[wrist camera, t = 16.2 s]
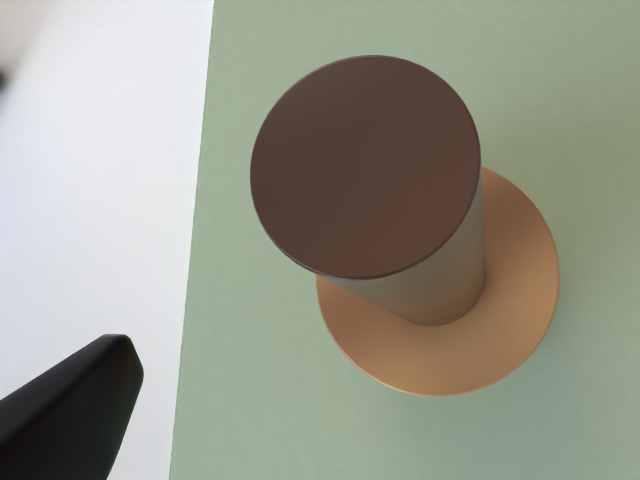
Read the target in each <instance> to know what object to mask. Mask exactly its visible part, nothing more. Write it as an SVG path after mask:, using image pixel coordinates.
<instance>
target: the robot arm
mask: <svg viewBox="0 0 640 480" xmlns="http://www.w3.org/2000/svg"><path fill="white" fill-rule="evenodd" d="M143 377H144V372H143V367H142V364H141V362H140V360H139V357H138V355H137V352H136V350H135V348H134V345H133V343H132V341H131V339H130V338H129V337H128V336H126V335H121V334H105V335H102V336H101V337H99V338H97V339H96V340H94V341H93V342H91V343H90V344H88V345H86V346H85V347H83V348H82V349H80V350H79V351H77V352H76V353H74V354H72V355H71V356H69V357H68V358H66V359H65V360H63V361H61V362H60V363H58V364H57V365H55V366H54V367H52V368H50V369H49V370H47V371H46V372H44V373H43V374H41V375H39V376H38V377H36V378H35V379H33V380H32V381H30V382H28V383H27V384H25V385H24V386H22V387H21V388H19V389H17V390H16V391H14V392H13V393H11V394H10V395H8V396H7V397H5V398H3V399H2V400H0V480H107V478H108V475H109V473H110V471H111V469H112V466H113V464H114V462H115V459H116V456H117V454H118V451H119V449H120V446H121V443H122V440H123V437H124V434H125V432H126V429H127V426H128V423H129V420H130V417H131V414H132V411H133V409H134V406H135V403H136V400H137V397H138V394H139V391H140V388H141V386H142V382H143Z"/></svg>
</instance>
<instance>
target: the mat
mask: <svg viewBox="0 0 640 480" xmlns="http://www.w3.org/2000/svg"><path fill="white" fill-rule="evenodd" d="M362 55H384V56H392V57H397V58H401V59H405V60H409V61H411V62H414V63H416V64H419V65H421V66H424V67H425V68H427V69H429V70H431V71H432V72H434V73H436V74H437V75H438V76H440V77H441V78H442V79H444V80H445V81H446V82H447V83H448V84H449V85H450V86H451V87H452V88H453V89H454V90H455V91H456V92H457V93H458V95H459V96H460V97H461V99H462V100H463V101H464V103H465V104H466V106H467V108H468V110H469V112H470V113H471V115H472V117H473V120H474V123H475V126H476V128H477V131H478V136H479V141H480V146H481V163H482V166H483V167H485V168H487V169H490V170H492V171H494V172H496V173H498V174H499V175H501V176H503V177H504V178H506V179H508V180H509V181H510V182H512V183H513V184H514V185H515V186H517V187H518V188H519V189H520V190H522V191H523V192H524V194H525V195H526V196H527V197H528V198H529V199H530V200H531V201H532V202H533V203H534V205H535V206H536V207H537V209H538V210H539V212H540V213H541V214H542V216H543V218H544V220H545V221H546V223H547V225H548V227H549V229H550V231H551V234H552V237H553V240H554V242H555V245H556V250H557V254H558V259H559V269H560V287H559V296H558V301H557V306H556V310H555V313H554V316H553V318H552V321H551V324H550V326H549V328H548V330H547V332H546V334H545V336H544V338H543V340H542V341H541V342H540V344H539V345H538V347H537V348H536V349H535V351H534V352H533V353H532V355H531V356H530V357H529V358H528V359H527V360H526V361H525V362H524V363H523V364H522V365H521V366H520V367H519V368H517V369H516V370H515V371H513V372H512V373H511V374H510V375H508V376H507V377H505V378H503V379H502V380H500V381H498V382H497V383H495V384H493V385H491V386H488V387H486V388H483V389H481V390H479V391H476V392H472V393H468V394H464V395H459V396H451V397H424V396H417V395H411V394H407V393H404V392H400V391H397V390H394V389H392V388H390V387H387V386H385V385H383V384H381V383H379V382H377V381H376V380H374V379H372V378H371V377H369V376H367V375H366V374H365V373H363V372H362V371H361V370H360V369H358V368H357V367H356V366H355V365H354V364H353V363H352V362H351V361H350V360H349V359H348V358H347V357H346V356H345V355H344V354H343V353H342V351H341V350H340V349H339V347H338V346H337V344H336V343H335V342H334V340H333V338H332V336H331V335H330V333H329V331H328V329H327V327H326V325H325V322H324V320H323V317H322V315H321V311H320V307H319V303H318V299H317V291H316V274H314V273H312V272H310V271H308V270H306V269H305V268H303V267H301V266H299V265H298V264H296V263H295V262H293V261H292V260H291V259H289V258H288V257H287V256H285V255H284V254H283V253H282V252H281V251H280V250H279V249H278V248H277V247H276V246H275V245H274V243H273V242H272V241H271V239H270V238H269V237H268V235H267V234H266V232H265V230H264V229H263V227H262V225H261V223H260V221H259V219H258V216H257V214H256V211H255V208H254V204H253V200H252V196H251V188H250V164H251V157H252V151H253V148H254V144H255V141H256V137H257V135H258V133H259V130H260V128H261V125H262V124H263V122H264V120H265V118H266V116H267V115H268V113H269V111H270V110H271V109H272V107H273V106H274V105H275V103H276V102H277V101H278V100H279V98H280V97H281V96H282V95H283V94H284V93H285V92H286V91H287V90H288V89H289V88H290V87H291V86H293V85H294V84H295V83H296V82H297V81H298V80H300V79H301V78H303V77H304V76H306V75H307V74H309V73H310V72H312V71H314V70H316V69H318V68H320V67H322V66H324V65H327V64H329V63H332V62H334V61H337V60H341V59H345V58H349V57H355V56H362ZM169 480H640V0H214V7H213V18H212V29H211V39H210V50H209V60H208V71H207V82H206V92H205V103H204V113H203V124H202V135H201V145H200V156H199V167H198V177H197V188H196V198H195V209H194V220H193V230H192V241H191V251H190V262H189V273H188V283H187V294H186V305H185V315H184V326H183V336H182V347H181V358H180V368H179V379H178V390H177V400H176V411H175V421H174V432H173V443H172V453H171V464H170V474H169Z"/></svg>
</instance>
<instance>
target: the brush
mask: <svg viewBox="0 0 640 480" xmlns="http://www.w3.org/2000/svg"><path fill="white" fill-rule="evenodd" d="M250 188H251V196H252V200H253V204H254V208H255V211H256V214H257V216H258V219H259V221H260V223H261V225H262V227H263V229H264V230H265V232H266V234H267V235H268V237H269V238H270V239H271V241H272V242H273V243H274V245H275V246H276V247H277V248H278V249H279V250H280V251H281V252H282V253H283V254H284V255H285V256H287V257H288V258H289V259H291V260H292V261H293V262H295V263H296V264H298V265H299V266H301V267H303V268H305V269H306V270H308V271H310V272H312V273H314V274H316V291H317V299H318V303H319V307H320V311H321V315H322V317H323V320H324V322H325V325H326V327H327V329H328V331H329V333H330V335H331V336H332V338H333V340H334V342H335V343H336V344H337V346H338V347H339V349H340V350H341V351H342V353H343V354H344V355H345V356H346V357H347V358H348V359H349V360H350V361H351V362H352V363H353V364H354V365H355V366H356V367H357V368H358V369H360V370H361V371H362V372H363V373H365V374H366V375H367V376H369V377H371V378H372V379H374V380H376V381H377V382H379V383H381V384H383V385H385V386H387V387H390V388H392V389H394V390H397V391H400V392H404V393H407V394H411V395H417V396H424V397H451V396H459V395H464V394H468V393H472V392H476V391H479V390H481V389H483V388H486V387H488V386H491V385H493V384H495V383H497V382H498V381H500V380H502V379H503V378H505V377H507V376H508V375H510V374H511V373H512V372H513V371H515V370H516V369H517V368H519V367H520V366H521V365H522V364H523V363H524V362H525V361H526V360H527V359H528V358H529V357H530V356H531V355H532V353H533V352H534V351H535V349H536V348H537V347H538V345H539V344H540V342H541V341H542V340H543V338H544V336H545V334H546V332H547V330H548V328H549V326H550V324H551V321H552V318H553V316H554V313H555V310H556V306H557V301H558V296H559V287H560V269H559V259H558V254H557V250H556V245H555V242H554V240H553V237H552V234H551V231H550V229H549V227H548V225H547V223H546V221H545V220H544V218H543V216H542V214H541V213H540V212H539V210H538V209H537V207H536V206H535V205H534V203H533V202H532V201H531V200H530V199H529V198H528V197H527V196H526V195H525V194H524V192H523V191H522V190H520V189H519V188H518V187H517V186H515V185H514V184H513V183H512V182H510V181H509V180H508V179H506V178H504V177H503V176H501V175H499V174H498V173H496V172H494V171H492V170H490V169H487V168H485V167H483V166H482V163H481V146H480V141H479V136H478V131H477V128H476V126H475V123H474V120H473V117H472V115H471V113H470V112H469V110H468V108H467V106H466V104H465V103H464V101H463V100H462V99H461V97H460V96H459V95H458V93H457V92H456V91H455V90H454V89H453V88H452V87H451V86H450V85H449V84H448V83H447V82H446V81H445V80H444V79H442V78H441V77H440V76H438V75H437V74H436V73H434V72H432V71H431V70H429V69H427V68H425V67H424V66H421V65H419V64H416V63H414V62H411V61H409V60H405V59H401V58H397V57H392V56H384V55H362V56H355V57H349V58H345V59H341V60H337V61H334V62H332V63H329V64H327V65H324V66H322V67H320V68H318V69H316V70H314V71H312V72H310V73H309V74H307V75H306V76H304V77H303V78H301V79H300V80H298V81H297V82H296V83H295V84H294V85H293V86H291V87H290V88H289V89H288V90H287V91H286V92H285V93H284V94H283V95H282V96H281V97H280V98H279V100H278V101H277V102H276V103H275V105H274V106H273V107H272V109H271V110H270V111H269V113H268V115H267V116H266V118H265V120H264V122H263V124H262V125H261V128H260V130H259V133H258V135H257V137H256V141H255V144H254V148H253V151H252V157H251V164H250Z"/></svg>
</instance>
